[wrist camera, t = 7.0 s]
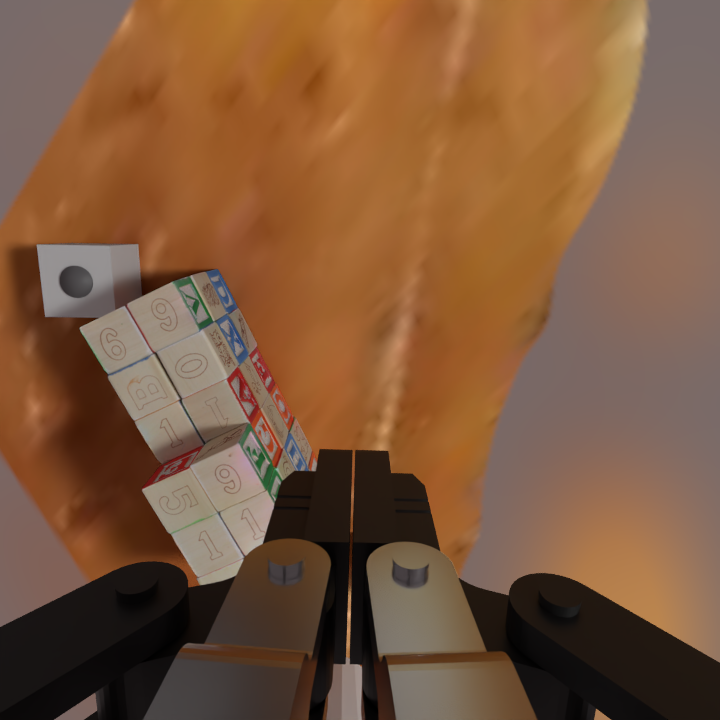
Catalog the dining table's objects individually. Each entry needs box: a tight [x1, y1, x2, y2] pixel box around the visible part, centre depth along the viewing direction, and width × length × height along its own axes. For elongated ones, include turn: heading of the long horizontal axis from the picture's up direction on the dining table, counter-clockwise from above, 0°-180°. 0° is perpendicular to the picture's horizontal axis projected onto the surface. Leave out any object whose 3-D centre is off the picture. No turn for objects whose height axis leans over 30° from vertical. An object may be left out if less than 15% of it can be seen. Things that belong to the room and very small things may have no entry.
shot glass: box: [326, 657, 362, 720], centre depth 43 cm, size 7×7×7 cm
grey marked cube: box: [37, 243, 142, 318], centre depth 36 cm, size 4×4×5 cm
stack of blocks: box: [80, 269, 317, 585], centre depth 35 cm, size 21×6×12 cm, turn 25°
